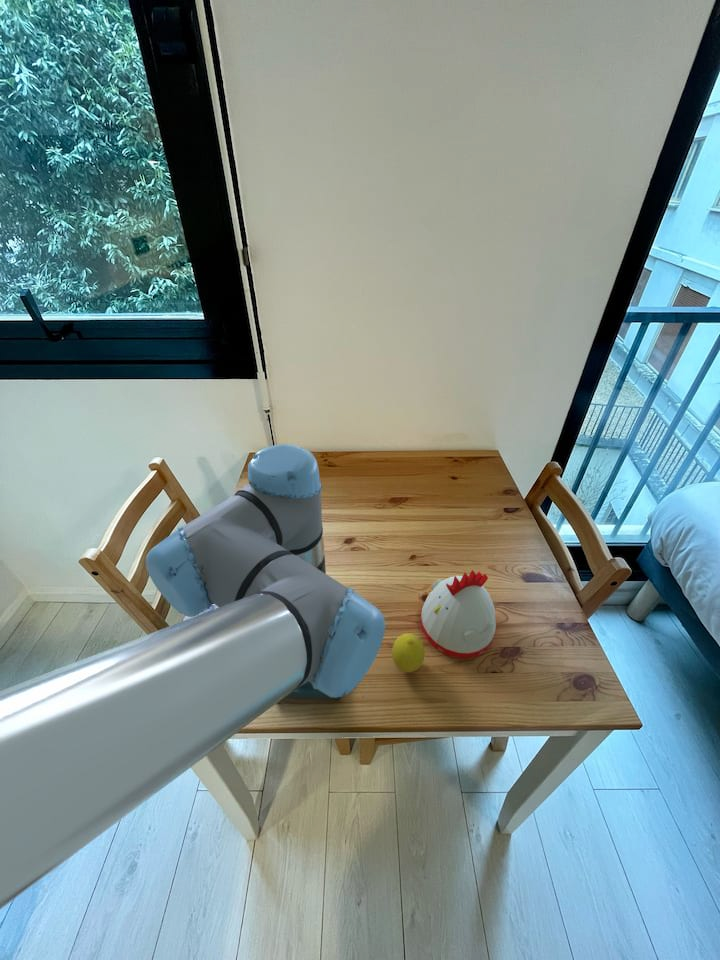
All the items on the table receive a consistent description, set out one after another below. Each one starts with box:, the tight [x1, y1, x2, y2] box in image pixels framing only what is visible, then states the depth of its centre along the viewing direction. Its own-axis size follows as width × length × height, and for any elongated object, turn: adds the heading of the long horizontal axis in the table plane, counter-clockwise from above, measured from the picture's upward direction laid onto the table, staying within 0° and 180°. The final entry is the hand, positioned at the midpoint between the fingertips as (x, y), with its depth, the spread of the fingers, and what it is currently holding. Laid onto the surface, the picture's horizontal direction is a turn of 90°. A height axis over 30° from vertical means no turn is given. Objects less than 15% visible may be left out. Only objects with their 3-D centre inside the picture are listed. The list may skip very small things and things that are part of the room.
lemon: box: [391, 633, 426, 673], centre depth 70 cm, size 6×6×8 cm
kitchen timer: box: [419, 569, 497, 659], centre depth 74 cm, size 14×14×15 cm
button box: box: [283, 681, 341, 700], centre depth 69 cm, size 11×8×4 cm
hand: (307, 654), depth 67 cm, fingers closed
